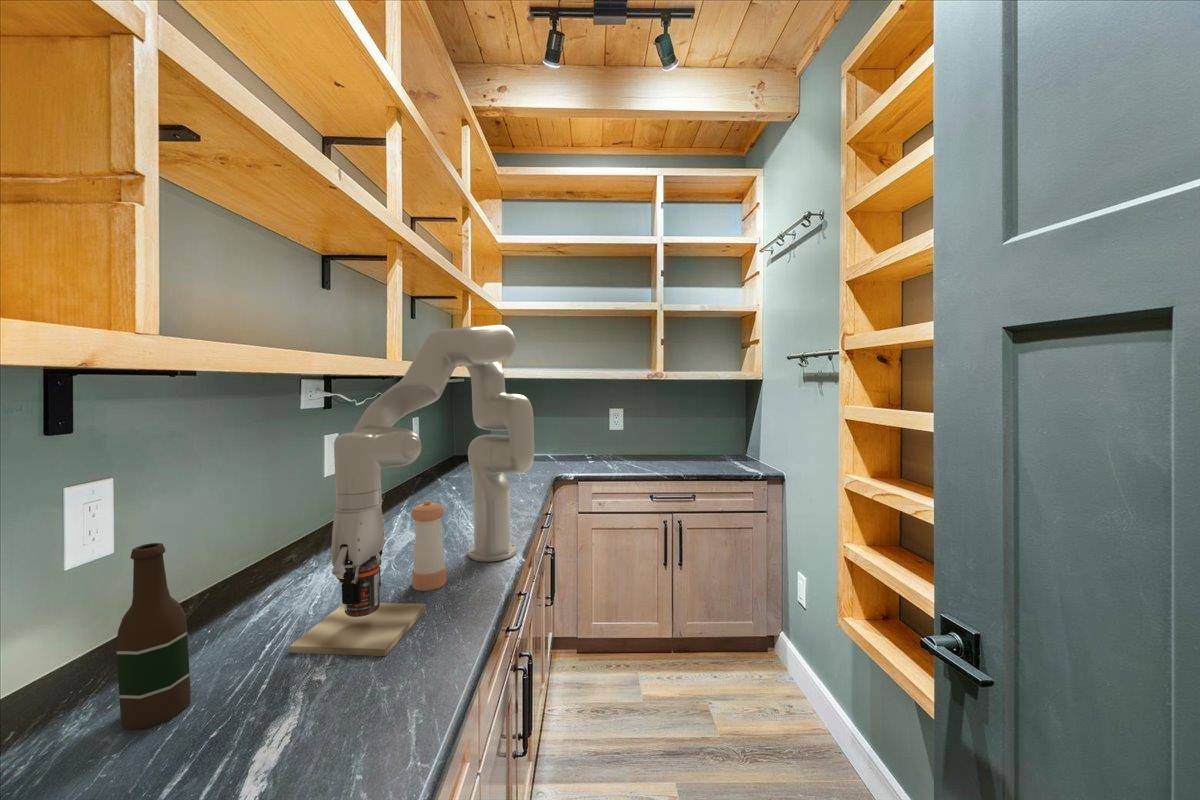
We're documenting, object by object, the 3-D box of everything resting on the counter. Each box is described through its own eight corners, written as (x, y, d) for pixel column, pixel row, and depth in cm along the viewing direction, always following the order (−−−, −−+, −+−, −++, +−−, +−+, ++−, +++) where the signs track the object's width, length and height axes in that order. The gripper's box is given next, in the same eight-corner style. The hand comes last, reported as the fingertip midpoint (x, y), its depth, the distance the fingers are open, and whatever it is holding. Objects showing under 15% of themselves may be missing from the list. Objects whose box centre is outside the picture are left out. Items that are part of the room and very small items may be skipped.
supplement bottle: (341, 620, 86) (338, 558, 86) (348, 605, 92) (346, 547, 91) (377, 616, 88) (375, 555, 87) (382, 601, 94) (381, 544, 93)
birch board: (345, 607, 99) (345, 601, 99) (426, 609, 97) (425, 604, 97) (289, 652, 83) (289, 645, 83) (385, 656, 82) (385, 649, 81)
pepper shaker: (446, 588, 107) (444, 503, 106) (411, 592, 105) (408, 506, 104) (446, 575, 114) (444, 495, 113) (413, 579, 112) (411, 498, 111)
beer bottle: (178, 723, 66) (168, 552, 65) (105, 738, 63) (93, 560, 62) (203, 688, 73) (194, 534, 72) (138, 700, 71) (128, 540, 69)
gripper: (365, 488, 98) (368, 575, 99) (308, 512, 80) (312, 617, 81) (401, 488, 97) (403, 576, 98) (351, 513, 80) (354, 619, 81)
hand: (362, 594), depth 90 cm, fingers closed on supplement bottle, 6 cm apart
